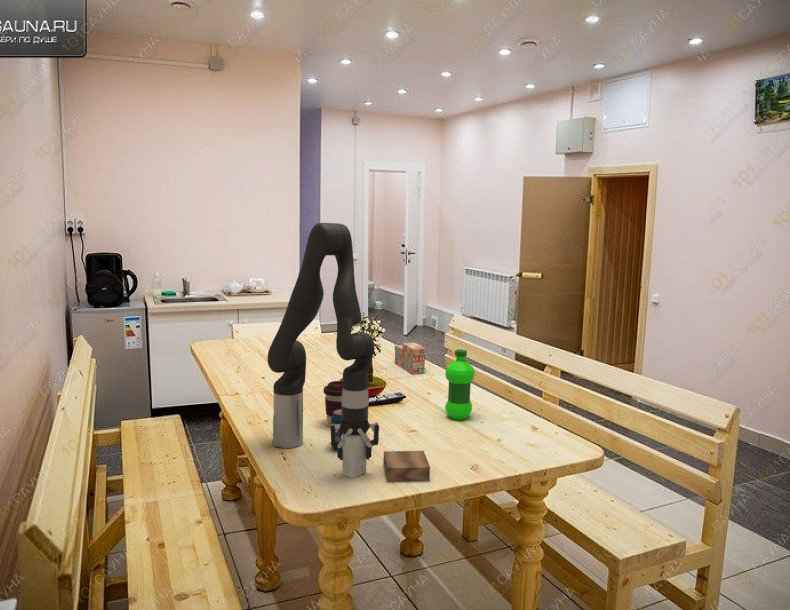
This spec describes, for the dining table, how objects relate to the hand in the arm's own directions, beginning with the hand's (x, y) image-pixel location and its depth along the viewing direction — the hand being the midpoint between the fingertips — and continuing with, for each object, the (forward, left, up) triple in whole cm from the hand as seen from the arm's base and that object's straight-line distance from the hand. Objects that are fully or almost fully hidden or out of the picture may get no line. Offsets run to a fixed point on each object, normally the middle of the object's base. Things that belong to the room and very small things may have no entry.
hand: (354, 458), depth 181 cm
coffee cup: (-4, +40, -5) cm, 40 cm away
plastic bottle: (+40, +46, -5) cm, 61 cm away
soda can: (-3, +19, -5) cm, 20 cm away
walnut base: (+15, 0, -4) cm, 16 cm away
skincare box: (0, 0, -5) cm, 5 cm away
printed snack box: (+31, +115, -5) cm, 119 cm away
